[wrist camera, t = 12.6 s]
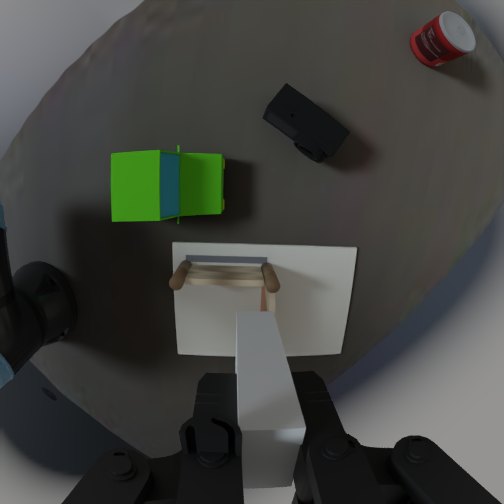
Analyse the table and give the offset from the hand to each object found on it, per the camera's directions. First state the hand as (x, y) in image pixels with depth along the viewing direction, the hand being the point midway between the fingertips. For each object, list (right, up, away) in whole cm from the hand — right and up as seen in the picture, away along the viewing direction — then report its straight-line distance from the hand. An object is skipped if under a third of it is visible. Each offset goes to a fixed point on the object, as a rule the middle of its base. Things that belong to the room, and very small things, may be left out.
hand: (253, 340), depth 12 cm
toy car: (-11, +14, +30) cm, 34 cm away
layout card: (+2, -4, +34) cm, 35 cm away
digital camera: (+6, +21, +29) cm, 37 cm away
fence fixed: (-4, +2, +33) cm, 33 cm away
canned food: (+32, +41, +26) cm, 58 cm away
